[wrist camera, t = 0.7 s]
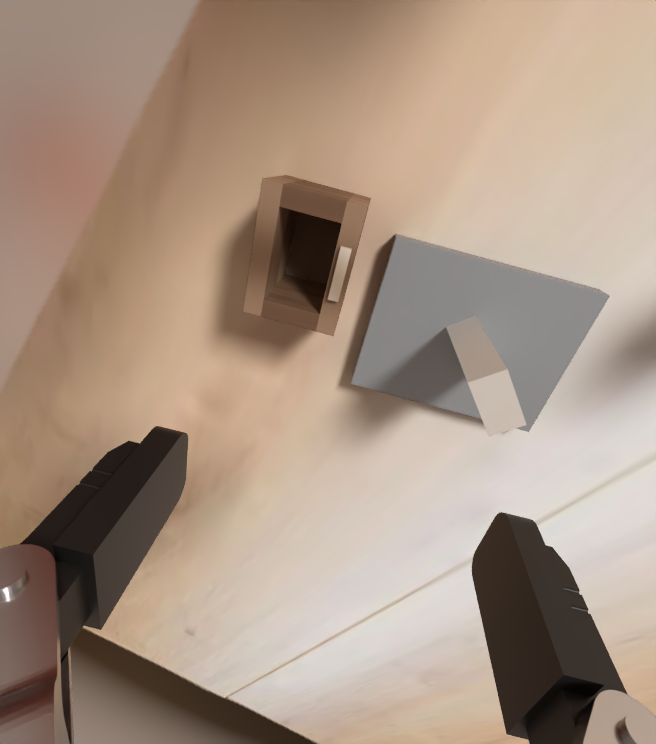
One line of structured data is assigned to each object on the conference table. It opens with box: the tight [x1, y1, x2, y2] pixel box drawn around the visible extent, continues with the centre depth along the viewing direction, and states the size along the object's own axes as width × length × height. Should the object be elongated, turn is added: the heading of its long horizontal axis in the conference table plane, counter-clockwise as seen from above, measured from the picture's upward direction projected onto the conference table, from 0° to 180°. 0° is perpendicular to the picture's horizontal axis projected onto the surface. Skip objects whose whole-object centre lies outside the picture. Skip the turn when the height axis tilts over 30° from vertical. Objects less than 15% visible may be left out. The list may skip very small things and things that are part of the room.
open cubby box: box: [243, 175, 371, 336], centre depth 25 cm, size 7×6×6 cm
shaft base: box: [351, 234, 609, 436], centre depth 25 cm, size 11×14×10 cm
